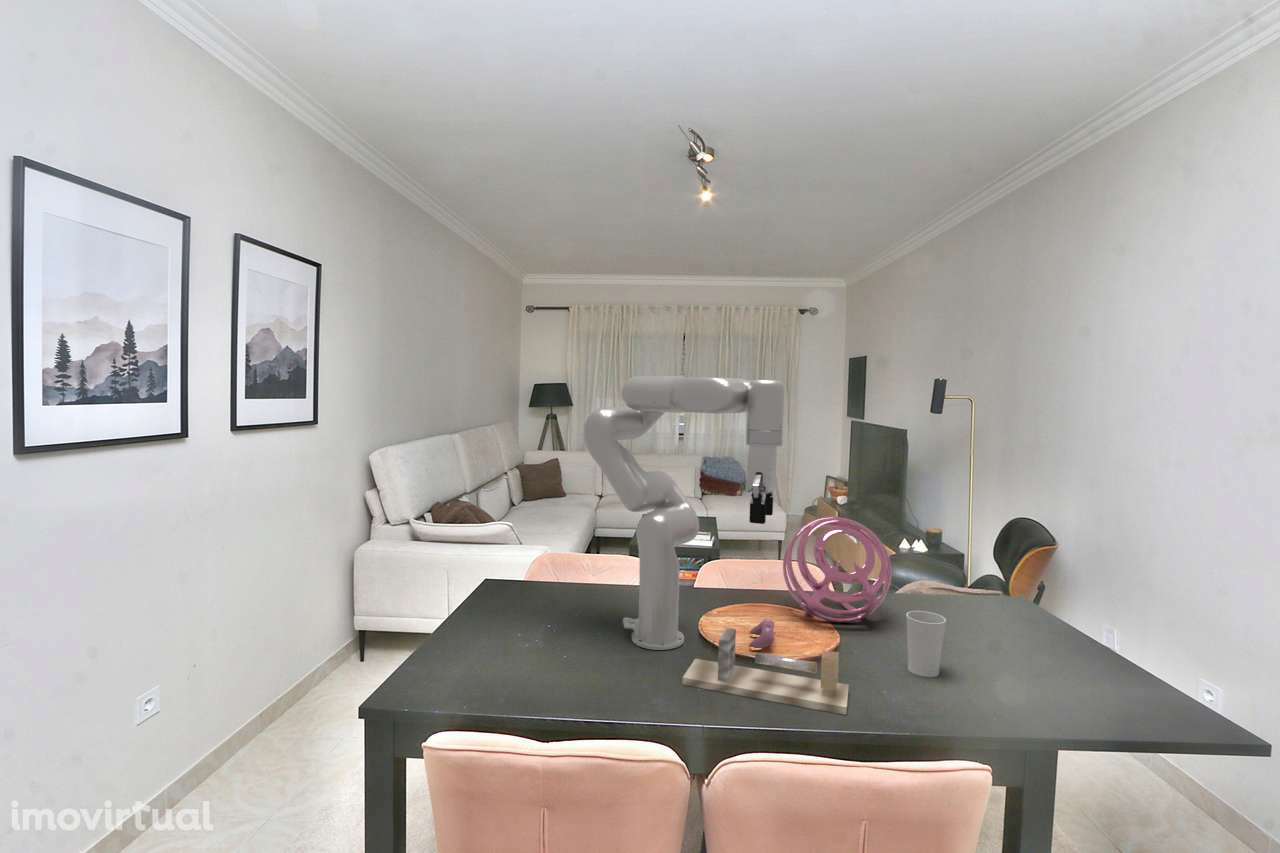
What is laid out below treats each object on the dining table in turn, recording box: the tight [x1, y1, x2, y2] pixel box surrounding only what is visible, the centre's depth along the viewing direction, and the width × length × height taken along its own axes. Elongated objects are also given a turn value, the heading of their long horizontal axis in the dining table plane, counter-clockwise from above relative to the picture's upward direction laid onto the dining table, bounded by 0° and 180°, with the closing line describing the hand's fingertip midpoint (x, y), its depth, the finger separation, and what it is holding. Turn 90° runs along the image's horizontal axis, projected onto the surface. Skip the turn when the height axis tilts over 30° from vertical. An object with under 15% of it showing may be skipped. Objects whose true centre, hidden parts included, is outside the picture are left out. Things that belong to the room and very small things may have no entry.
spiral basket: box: [782, 516, 893, 624], centre depth 174 cm, size 28×28×27 cm
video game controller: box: [748, 618, 776, 649], centre depth 153 cm, size 10×5×7 cm, turn 169°
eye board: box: [681, 627, 850, 716], centre depth 130 cm, size 32×10×10 cm, turn 70°
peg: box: [754, 649, 840, 691], centre depth 128 cm, size 16×4×6 cm, turn 70°
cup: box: [905, 610, 947, 678], centre depth 140 cm, size 8×8×12 cm
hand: (761, 518), depth 136 cm, fingers open, 9 cm apart
